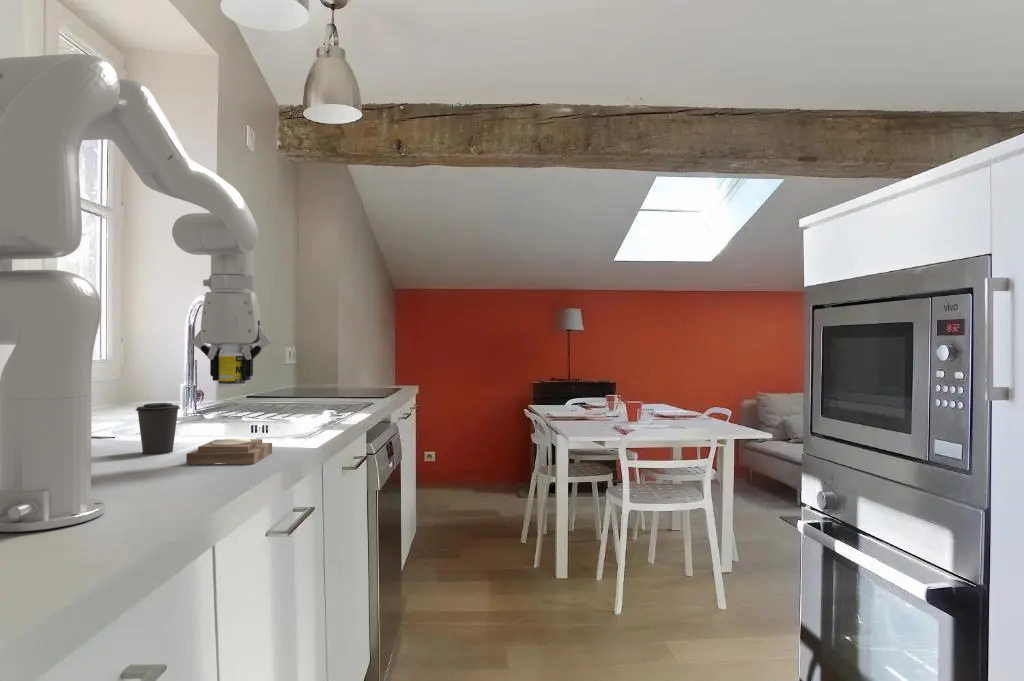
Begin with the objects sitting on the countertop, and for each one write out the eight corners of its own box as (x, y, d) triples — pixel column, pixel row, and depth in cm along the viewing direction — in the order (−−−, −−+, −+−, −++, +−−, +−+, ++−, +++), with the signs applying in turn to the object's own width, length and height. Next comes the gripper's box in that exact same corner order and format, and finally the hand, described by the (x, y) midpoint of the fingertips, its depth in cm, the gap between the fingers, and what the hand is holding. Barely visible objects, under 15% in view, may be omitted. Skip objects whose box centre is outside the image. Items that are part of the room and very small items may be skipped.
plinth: (254, 463, 120) (254, 446, 120) (186, 464, 119) (186, 446, 119) (272, 452, 132) (272, 436, 132) (210, 453, 131) (210, 437, 131)
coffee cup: (166, 456, 127) (166, 405, 127) (125, 455, 128) (126, 404, 128) (188, 449, 135) (188, 401, 135) (149, 449, 136) (150, 401, 136)
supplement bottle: (238, 387, 123) (238, 342, 123) (213, 387, 123) (213, 342, 123) (249, 385, 128) (249, 342, 128) (225, 385, 128) (225, 342, 128)
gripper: (178, 283, 121) (177, 381, 121) (272, 284, 122) (271, 381, 122) (194, 286, 128) (193, 379, 128) (282, 287, 130) (282, 379, 130)
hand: (231, 379), depth 125 cm, fingers closed on supplement bottle, 4 cm apart
